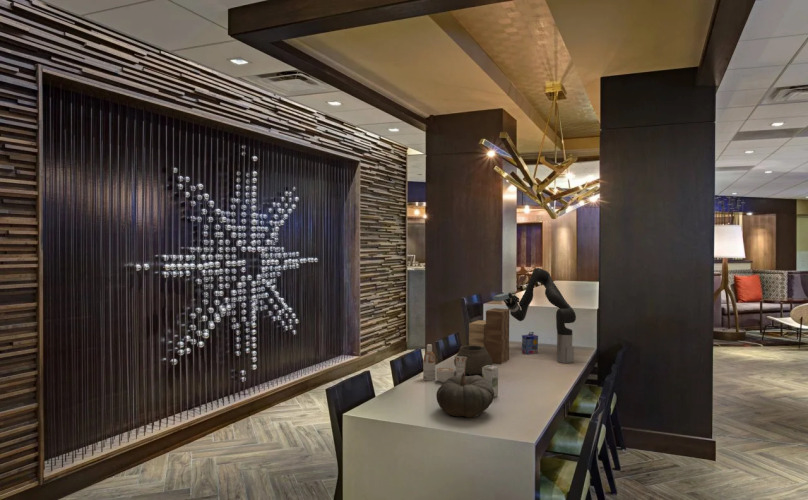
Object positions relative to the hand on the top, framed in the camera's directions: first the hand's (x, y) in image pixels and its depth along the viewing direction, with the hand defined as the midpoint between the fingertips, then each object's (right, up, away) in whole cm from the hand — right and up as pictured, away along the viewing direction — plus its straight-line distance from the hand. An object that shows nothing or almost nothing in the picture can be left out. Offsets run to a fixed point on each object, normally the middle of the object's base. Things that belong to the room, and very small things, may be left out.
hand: (505, 293), depth 354 cm
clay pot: (-28, -41, -48) cm, 69 cm away
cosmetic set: (-45, -42, -66) cm, 90 cm away
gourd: (-40, -42, -119) cm, 133 cm away
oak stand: (-16, -41, +1) cm, 44 cm away
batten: (-3, -3, -6) cm, 7 cm away
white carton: (-25, -42, -94) cm, 106 cm away
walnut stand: (-8, -41, -14) cm, 44 cm away
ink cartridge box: (+18, -41, +11) cm, 46 cm away
